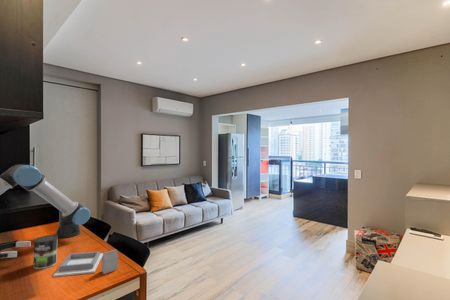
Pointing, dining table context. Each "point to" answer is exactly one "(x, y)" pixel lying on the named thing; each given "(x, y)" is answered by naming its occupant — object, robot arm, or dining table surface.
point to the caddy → (79, 264)
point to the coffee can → (45, 251)
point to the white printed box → (109, 261)
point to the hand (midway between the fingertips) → (23, 248)
